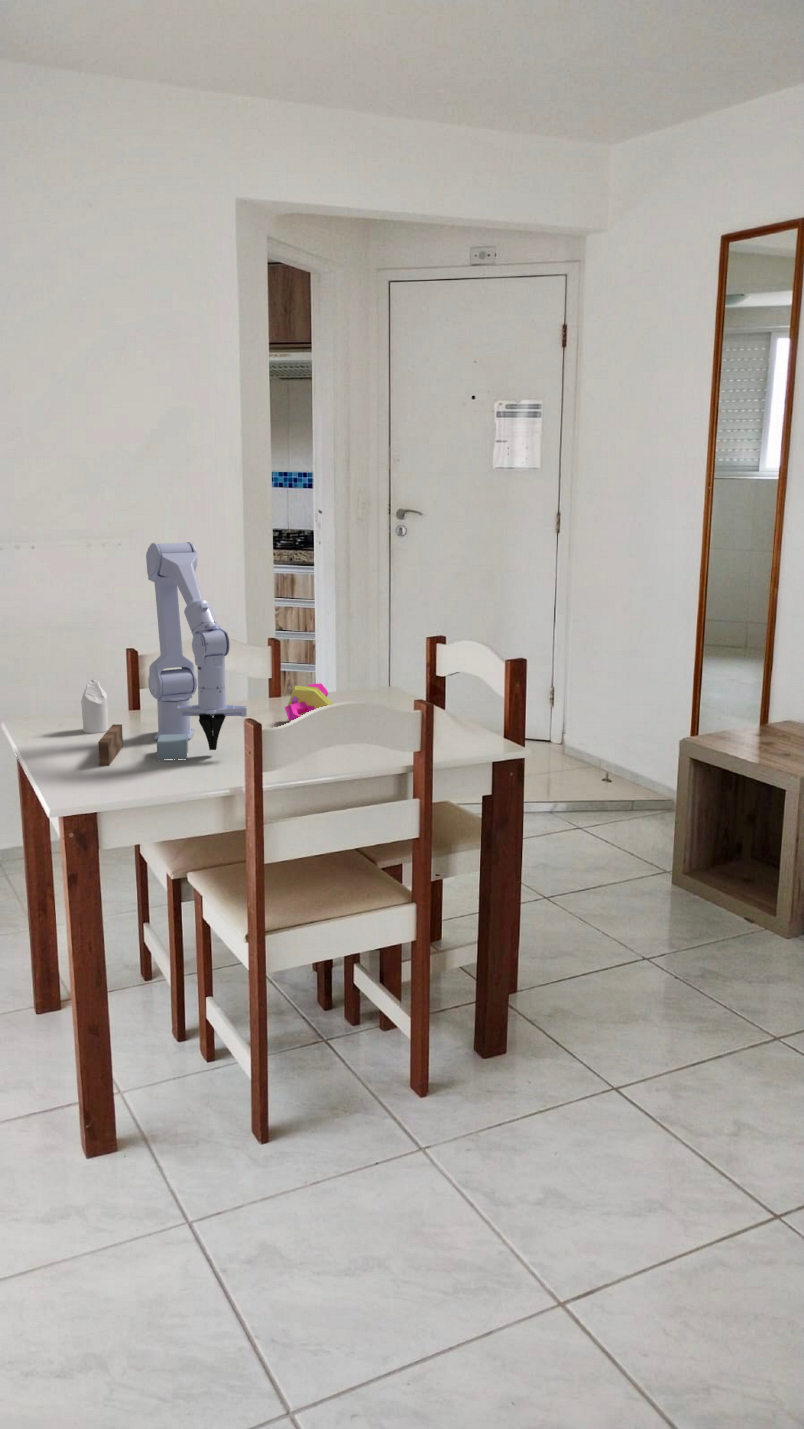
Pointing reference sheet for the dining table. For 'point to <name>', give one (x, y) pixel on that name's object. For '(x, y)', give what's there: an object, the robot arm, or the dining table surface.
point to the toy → (306, 700)
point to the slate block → (172, 746)
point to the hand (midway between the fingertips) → (213, 748)
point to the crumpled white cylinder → (94, 708)
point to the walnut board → (110, 744)
